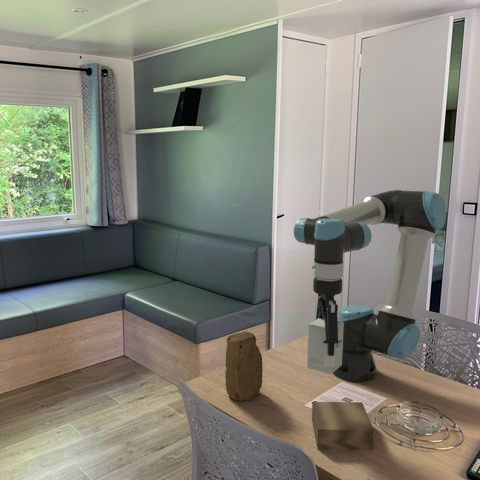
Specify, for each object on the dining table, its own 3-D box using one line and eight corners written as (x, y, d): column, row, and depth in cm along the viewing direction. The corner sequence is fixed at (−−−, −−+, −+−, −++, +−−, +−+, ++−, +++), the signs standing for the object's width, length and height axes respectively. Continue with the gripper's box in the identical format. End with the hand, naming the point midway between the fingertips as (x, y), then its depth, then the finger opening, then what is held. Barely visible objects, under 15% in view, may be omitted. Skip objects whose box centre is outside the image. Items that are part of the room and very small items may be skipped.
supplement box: (331, 375, 128) (333, 329, 125) (306, 368, 132) (307, 323, 130) (342, 365, 134) (344, 321, 131) (318, 359, 138) (319, 316, 136)
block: (235, 404, 147) (235, 341, 144) (223, 394, 154) (222, 334, 150) (265, 395, 153) (265, 334, 149) (252, 385, 159) (252, 327, 155)
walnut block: (361, 421, 138) (362, 402, 137) (372, 451, 124) (373, 430, 123) (311, 421, 138) (312, 401, 137) (317, 450, 125) (317, 429, 124)
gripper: (306, 268, 139) (304, 342, 143) (322, 289, 117) (319, 376, 121) (332, 268, 140) (330, 342, 143) (353, 288, 117) (349, 375, 121)
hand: (325, 357), depth 132 cm, fingers closed on supplement box, 10 cm apart
